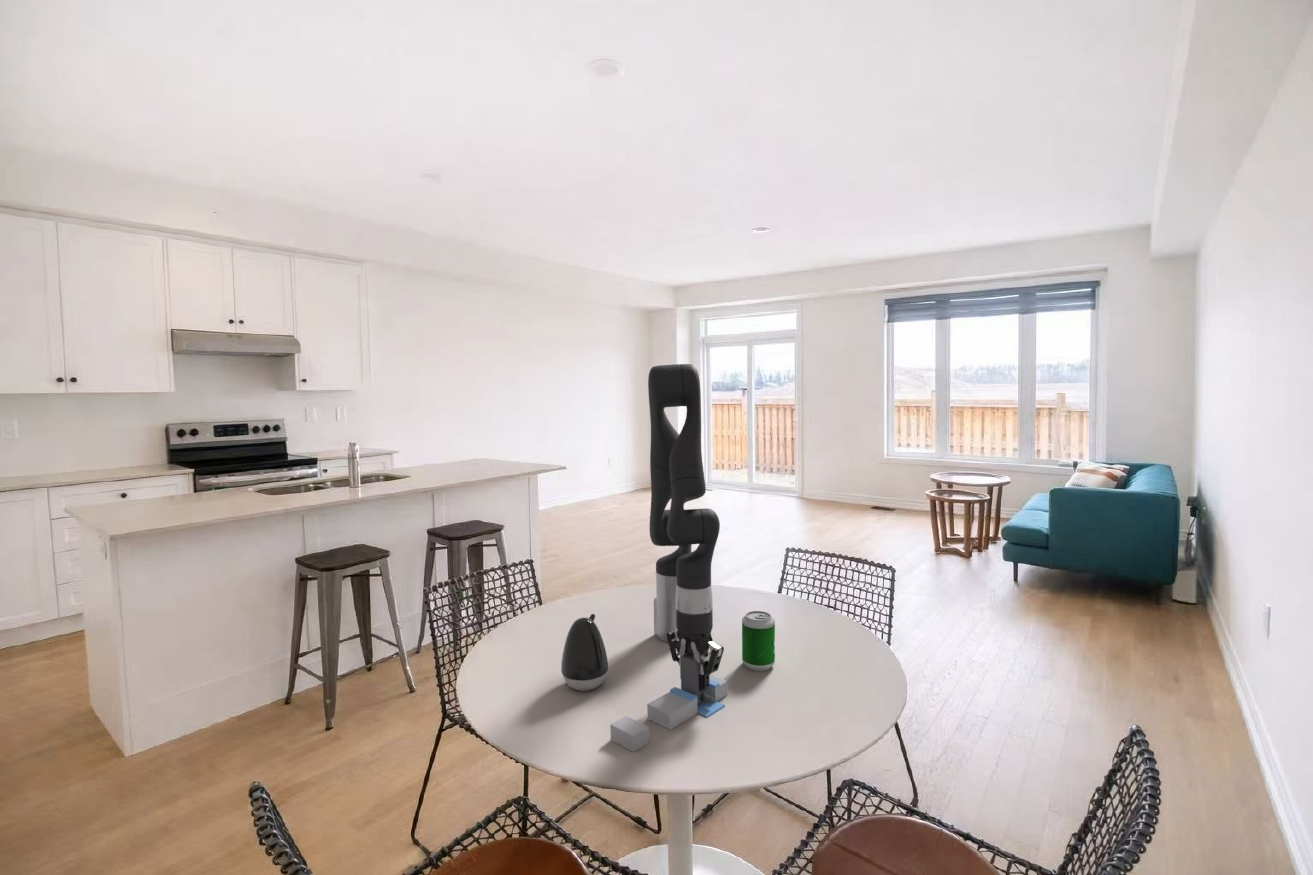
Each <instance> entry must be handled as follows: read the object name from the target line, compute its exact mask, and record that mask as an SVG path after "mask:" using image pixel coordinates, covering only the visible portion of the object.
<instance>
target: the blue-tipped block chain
mask: <svg viewBox="0 0 1313 875" xmlns="http://www.w3.org/2000/svg"><path fill="white" fill-rule="evenodd" d="M709 679H710V680H709V681H710V682H709V683H710V686H709V688H708V693H709V696H711V697H713V698H714V702H713V703H712V704H709V703H707V702H704V701H702V702H700V703H698V704H697V696H696V695H693V694H691V693H688V692H686V691H684V690H681V688H679V687H676V686H673V687H671V688H670V689H669V692H667V693H665V694H663V695H661V696H660V697H658V698H656V699H654V700H652V701H651V702H648V703H647V704H646V706H647V708H646V710H647V713H646V714H647V719H648V720H649V721H652V722H653V723H656V724H657V725H660V726H662V727H664V728H666V729H668V730H672V729H674V728H675V727H677V726H679V725H681V724H682V723H683V722H686V721H687V720H688V719H691V718H692V717H693V716H695V715H697V714H699V715H702V716H703V717H706V718H709V717H710V716H712V715H713V714H716V713H717V712H718V711H720V710H722V709H723V708H724V707H726V704H724V703H722V702H719V701H720V700H721V699H723V698H724V697H726V696H728V680H725V679H722V678H721V677H717V676H715V675H712V674H710V675H709ZM610 741H612V742H614V743H616V744H618V745H620V746H621V747H624V748H625V749H627V750H629V751H630V752H636V751H638V750H639V749H641V748H643V747H644V746H646V745H648V744H649V743H650V727H649V726H648V725H646V724H645V723H642V722H640V721H638V720H636V719H634V718H632V717H630V716H629V715H625V716H623V717H621V718H618V720H615V721H614V722H612V723H611V724H610Z"/></svg>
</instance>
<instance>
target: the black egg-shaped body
mask: <svg viewBox="0 0 1313 875" xmlns="http://www.w3.org/2000/svg"><path fill="white" fill-rule="evenodd" d="M595 619H596V614H594V613H591V614H590V615H589V616H588V617H580V618H577V619H575V621H574V622H573V623H572V624H571V626H570V628H569V630H568V632H567V636H566V639H565V642H564V646H563V649H562V650H563V651H562V657H561V668H560V669H561V675H562V676H563V678H564V681H565V682H566V684H567V685H568V686H569V687H570V688H571V689H574V690H577V691H582V692H585V691H586V692H587V691H592V690H594V689H597V688H598V687H599V686H600V685H601V684H602V683H603V682H604V680H605V678H606V676H607V672H608V670H609V661H608V655H607V650H606V645H605V642H604V639H603V637H602V633H601V632H600V630H599V627H598V625H597V623H595Z"/></svg>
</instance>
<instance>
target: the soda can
mask: <svg viewBox="0 0 1313 875" xmlns="http://www.w3.org/2000/svg"><path fill="white" fill-rule="evenodd" d="M741 645H742V646H741V660H742V663H743V664H744V665H745V666H746V668H747V669H749V670H752V671H755V672H764V671H765V672H766V671H768V670H770V669H771V668H772V667H773V666H774V665H775V663H776V620H775V618H774V617H773V616H772V615H771V613H769V612H767V611H762V610H752V611H748V612H746V613H745V615H743V617H742V619H741Z"/></svg>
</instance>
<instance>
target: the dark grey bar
mask: <svg viewBox="0 0 1313 875" xmlns="http://www.w3.org/2000/svg"><path fill="white" fill-rule="evenodd" d="M702 656H703V655H702ZM702 656H700V657H702ZM703 664H704V663H703ZM704 667H705V665H704ZM699 674H700V673H699V669H698V663H697V661H695V658H694V656H693V655H692V654H687V655H685V656H681V678H680V689H681V690H684V691H686V692H688V693H691V694H693V695H696V696H697V704H698V703H700V702H702V701H704V702H707V703H709V704H712V703H713V702H714V698H713V697H711V696H709V693H708V689H707V690H705V691H703V692H701V691H699Z"/></svg>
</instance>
